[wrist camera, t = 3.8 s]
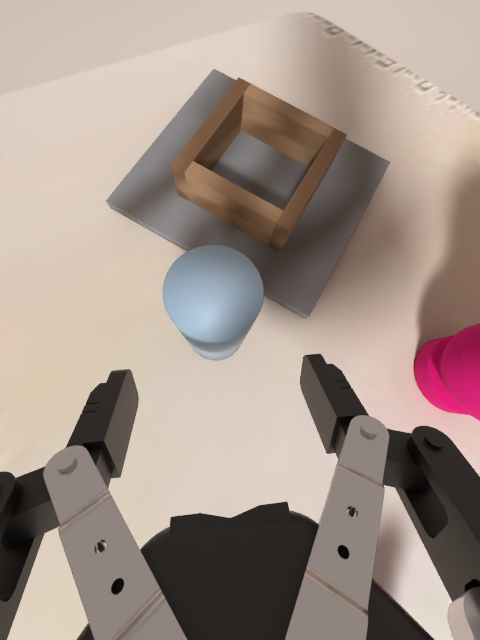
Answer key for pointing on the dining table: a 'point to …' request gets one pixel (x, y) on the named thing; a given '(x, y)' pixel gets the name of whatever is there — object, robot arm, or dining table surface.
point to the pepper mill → (452, 372)
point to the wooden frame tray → (254, 186)
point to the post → (213, 298)
